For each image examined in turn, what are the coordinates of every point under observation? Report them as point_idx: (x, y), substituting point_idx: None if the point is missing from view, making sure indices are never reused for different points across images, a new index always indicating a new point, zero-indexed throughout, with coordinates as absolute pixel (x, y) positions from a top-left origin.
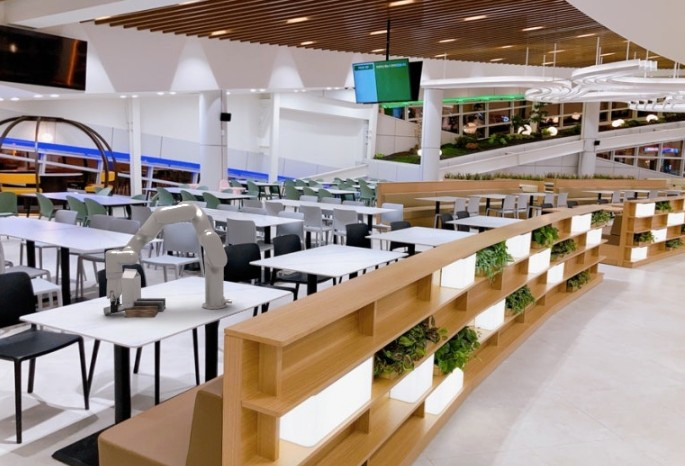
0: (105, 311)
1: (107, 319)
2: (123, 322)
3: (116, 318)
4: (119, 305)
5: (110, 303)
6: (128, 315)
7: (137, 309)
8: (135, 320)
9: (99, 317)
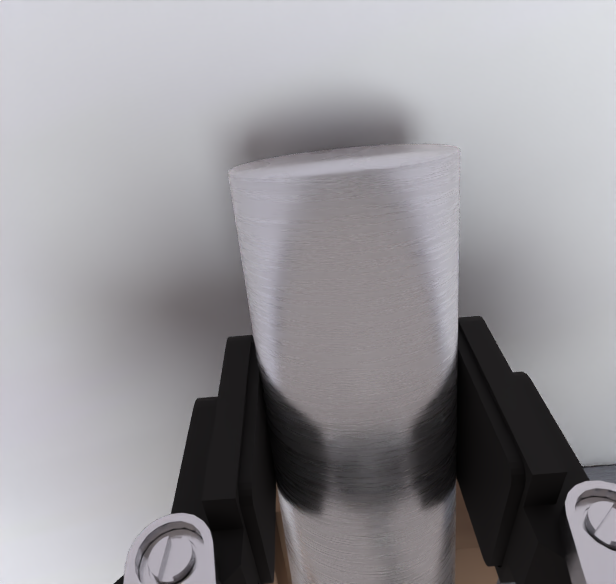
0: (236, 224)
1: (63, 277)
2: (13, 500)
3: (164, 381)
4: (316, 570)
5: (125, 582)
6: None
7: None
8: None
9: (149, 54)
